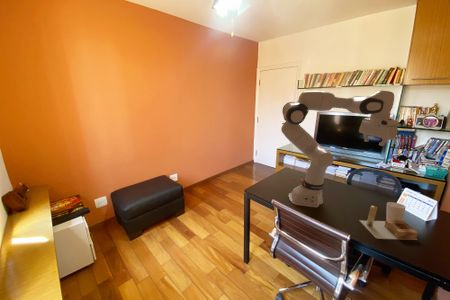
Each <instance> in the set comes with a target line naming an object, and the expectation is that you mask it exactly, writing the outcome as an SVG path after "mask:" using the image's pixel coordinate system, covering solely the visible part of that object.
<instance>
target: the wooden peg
mask: <svg viewBox="0 0 450 300" xmlns="http://www.w3.org/2000/svg"><path fill="white" fill-rule="evenodd" d="M377 210H378V206H376V205H372V204H371V206H370V208H369V210H368V211H369V212H368V216H367V220H366V221H367V223H366V225H367V226H369V227H372V226H373V223H374V221H375V218H376V215H377V212H378V211H377Z"/></svg>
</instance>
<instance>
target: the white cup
mask: <svg viewBox="0 0 450 300" xmlns="http://www.w3.org/2000/svg"><path fill="white" fill-rule="evenodd" d="M385 210H386V220H393V221H404V218H405V217H404V216H405V212H406V206H405V205H404V204H401V203H398V202H392V201H388V202H386V209H385ZM386 220H385V221H386Z"/></svg>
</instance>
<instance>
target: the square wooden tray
mask: <svg viewBox="0 0 450 300" xmlns="http://www.w3.org/2000/svg"><path fill="white" fill-rule="evenodd" d="M385 221H386V222H385V225H384V227H385V228H386V229H388V230H389V231H390V232H391V233H392V234H393V235H394V236H395V237H396V238H398V239H397V240H404V239H417V237H418V235H419V232H418V231H417V230H416V229H414V228H413V227H412V226H410V225H409V224H408V223H407V222H406V221H405V220H402V221H393V220H385Z"/></svg>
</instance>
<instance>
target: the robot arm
mask: <svg viewBox="0 0 450 300" xmlns="http://www.w3.org/2000/svg"><path fill="white" fill-rule="evenodd" d="M394 102H395V94H394V92H393V91H389V90H378V91H376V92H374V93H373V94H370V95H368V96H359V95H358V96H357V95H356V96H353V97H346V98H345V97H338V96H335V94H334V93H331V92H328V91H323V90H305V91H303V92H301V93H300V94H299V97H298V99H297V101H289V102H286V103H285V104H284V105H283V107H282V112H281V113H282V116H283V120H284V121H285V122H284V123H283V124H282V125H281V129H280V131H281V133H282V134H283V135H284V137H285V138H286V139H287V140H288V141H289V142H290V143H291V144H293V146H295V147H296V148H297V149H298V150H299V151H300V152H301V153H302V154H304V155H305V156H306V157H307V158H308V159H309V160H310V165H309V167H307V168H306V172H305V178H304V179H302V178H300V179H299V182H300V183H301V184H300V185H298V186H296V187H294V188H293V189H292V192H289V193H288V197H289V198H288V200H289V201H290V203H292V204H293V205H294V206H301V207H303V206H304V207H309V208H319V207H320V205H322V204H323V203H324V200H323V190H324V185H325V184H324V180H325V174H326V171H327V169H328V168H329V167H331V166H332V164H334V161H335V158H334V155H333V154H332V153H331V151H330V150H328V149H327V148H325V147H324V146H322V145H321V144H319V143H318V142H317V141H316V140H315V139H314V138H313V136H312V135H311V134H310V133H309V132H308V131H306V130H305V128H304V127H302V126H301V125H300V124H301V123H303V122H304V120H305V119H306V117H307V115H308V114H309V111H315V112H317V111H318V112H328V111H330V110H332V109H343V110H347V111H348V112H350V113H354V114H360V115H366V116H368V115H370V117H369V118H363V119H362V120H361V123H360V126H359V129H358V133H359V134H363V138H364V142H370V141H369V140H370V138H369V137H368V136H373V137H376V138H380V139H381V140H382V141H380V142H379V144H378V146H381V147H384V146H385V143H386V142H387V141H389V140H395V139H396V138H397V134H398V130H399V129H398V125H399V124H400V123H399V121H397V120H396V119H394V118H392V117H391V115H392V114H391V111H392V109H393V106H394Z"/></svg>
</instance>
